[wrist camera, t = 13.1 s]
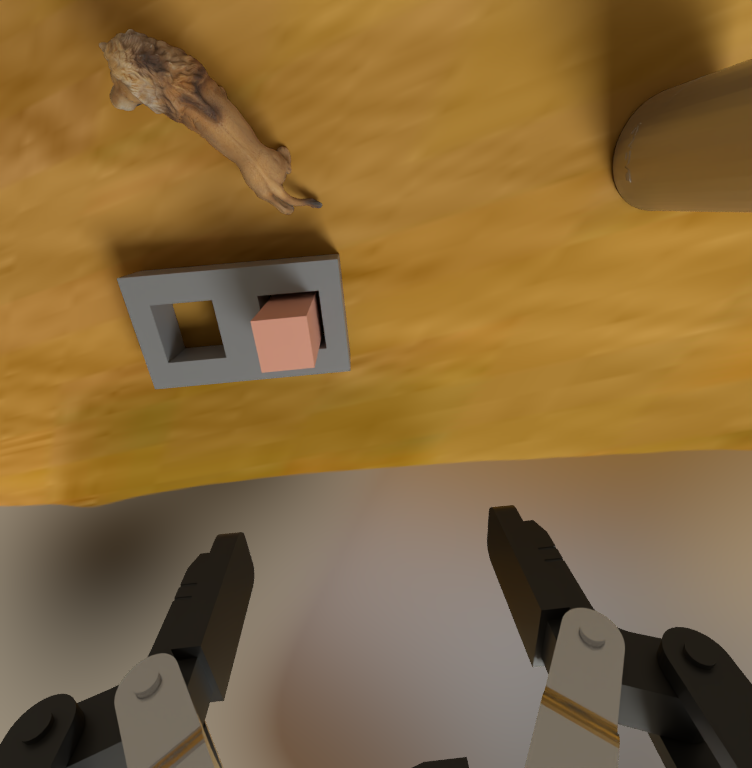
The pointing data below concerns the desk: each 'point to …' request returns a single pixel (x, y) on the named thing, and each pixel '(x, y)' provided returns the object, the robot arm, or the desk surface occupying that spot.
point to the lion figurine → (196, 109)
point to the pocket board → (231, 317)
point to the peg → (288, 331)
